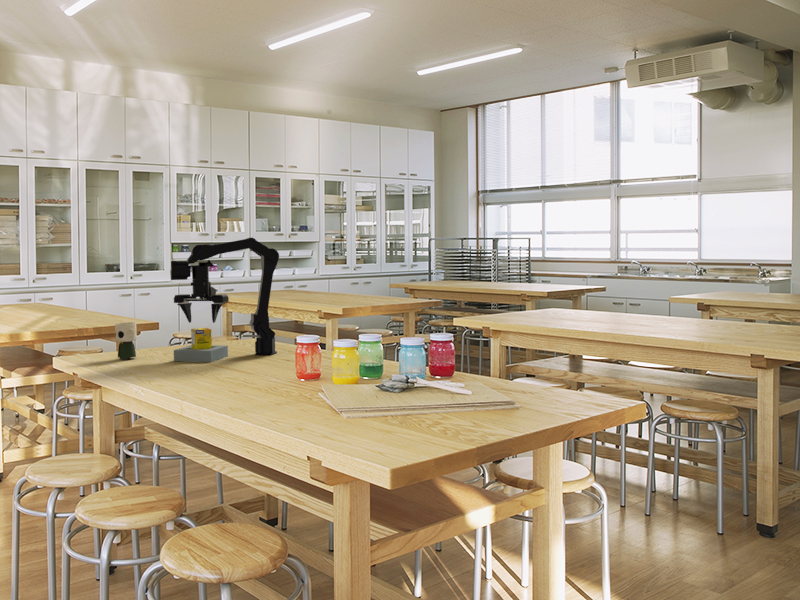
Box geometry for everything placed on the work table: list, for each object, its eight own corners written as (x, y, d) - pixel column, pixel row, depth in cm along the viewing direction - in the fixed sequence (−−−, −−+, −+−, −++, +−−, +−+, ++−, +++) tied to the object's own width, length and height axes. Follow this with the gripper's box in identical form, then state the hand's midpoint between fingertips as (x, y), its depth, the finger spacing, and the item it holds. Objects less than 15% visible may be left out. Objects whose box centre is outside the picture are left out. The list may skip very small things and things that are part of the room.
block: (228, 356, 261) (227, 345, 261) (211, 362, 247) (210, 350, 247) (192, 355, 263) (192, 344, 263) (174, 361, 250) (173, 350, 249)
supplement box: (212, 359, 254) (211, 328, 253) (195, 360, 251) (194, 329, 251) (208, 357, 259) (207, 327, 259) (191, 358, 257) (190, 328, 256)
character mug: (110, 358, 257) (108, 323, 256) (128, 356, 263) (127, 321, 262) (125, 361, 250) (123, 325, 249) (143, 359, 255) (142, 323, 255)
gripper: (234, 278, 262) (235, 320, 263) (186, 278, 265) (188, 320, 266) (221, 279, 251) (222, 323, 252) (172, 279, 254) (173, 323, 255)
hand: (202, 322), depth 257 cm, fingers open, 9 cm apart
